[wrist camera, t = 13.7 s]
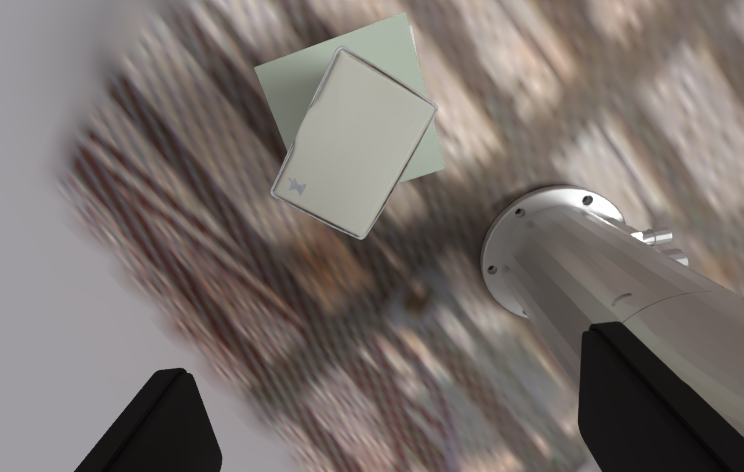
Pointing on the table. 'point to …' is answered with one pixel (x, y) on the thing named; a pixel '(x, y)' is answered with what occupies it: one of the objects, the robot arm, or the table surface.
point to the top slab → (307, 67)
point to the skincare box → (353, 144)
